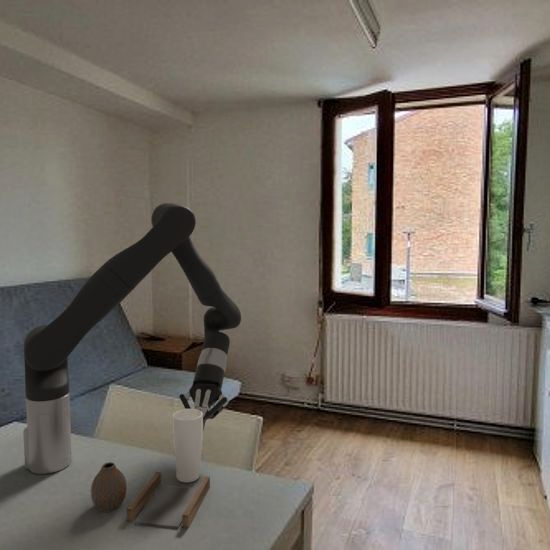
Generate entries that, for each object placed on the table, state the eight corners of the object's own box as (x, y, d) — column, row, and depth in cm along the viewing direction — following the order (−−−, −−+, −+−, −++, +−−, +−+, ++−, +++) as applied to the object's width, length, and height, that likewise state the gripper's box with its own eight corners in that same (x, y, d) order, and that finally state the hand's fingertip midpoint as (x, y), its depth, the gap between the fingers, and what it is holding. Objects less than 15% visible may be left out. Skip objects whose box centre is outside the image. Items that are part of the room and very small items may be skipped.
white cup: (206, 470, 109) (206, 409, 107) (198, 486, 102) (198, 421, 101) (178, 469, 110) (177, 407, 108) (168, 484, 103) (168, 419, 101)
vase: (99, 495, 98) (98, 456, 97) (131, 496, 98) (131, 457, 97) (85, 515, 91) (84, 473, 91) (120, 517, 91) (119, 474, 90)
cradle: (125, 522, 90) (125, 510, 89) (156, 482, 104) (156, 471, 104) (187, 529, 88) (187, 517, 87) (209, 487, 102) (209, 476, 102)
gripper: (183, 360, 121) (165, 425, 110) (232, 363, 119) (220, 430, 108) (190, 374, 126) (174, 437, 116) (237, 377, 124) (225, 441, 114)
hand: (196, 433), depth 112 cm, fingers closed
